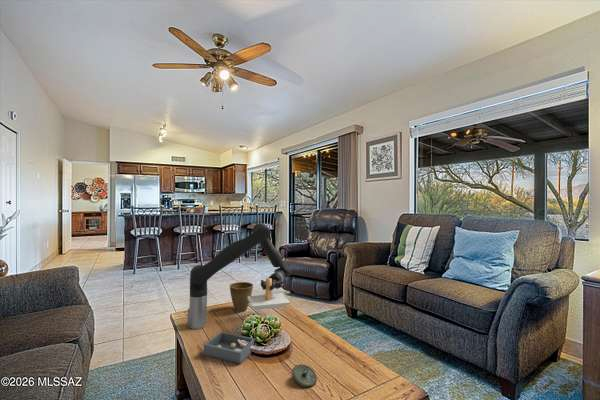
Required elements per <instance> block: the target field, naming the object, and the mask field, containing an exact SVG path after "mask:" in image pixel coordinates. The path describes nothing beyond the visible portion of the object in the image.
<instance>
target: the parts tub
mask: <svg viewBox="0 0 600 400" xmlns="http://www.w3.org/2000/svg"><path fill="white" fill-rule="evenodd" d="M251 338H252V337H249V336H244V335H240V334H234V333H229V332H225V331H220V332H219V333H218V334H216V335H215V336H213V337H212V338H211V339H210V340H208V341H207V342H205V344H203V356H204V357H208V358H212V359H216V360H220V361H224V362H227V363H232V364H237V365H241V364H243V363H244V362H245V361H246V359H248V357H249V356H251V354H252V353H251V351H250V347H251V345H253V344H254V340H252V339H251ZM238 339H240V340H245V341H250V342H249V343H248V344H247V345H246V346H245V347H244V348H242V347H241V346H240V345H239V343H238V341H237V340H238Z"/></svg>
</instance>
